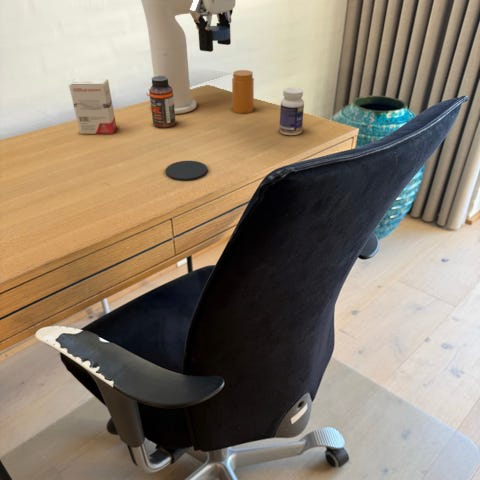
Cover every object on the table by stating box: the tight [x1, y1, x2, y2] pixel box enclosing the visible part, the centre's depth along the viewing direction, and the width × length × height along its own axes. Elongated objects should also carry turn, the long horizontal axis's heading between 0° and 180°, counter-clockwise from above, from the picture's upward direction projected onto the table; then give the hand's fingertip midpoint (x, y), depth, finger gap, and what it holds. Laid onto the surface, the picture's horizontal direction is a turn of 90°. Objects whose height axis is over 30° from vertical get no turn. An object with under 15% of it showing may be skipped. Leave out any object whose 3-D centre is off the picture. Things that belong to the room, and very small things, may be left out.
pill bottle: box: [279, 87, 305, 136], centre depth 117 cm, size 6×6×10 cm
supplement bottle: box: [148, 76, 176, 129], centre depth 121 cm, size 6×6×11 cm
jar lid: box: [210, 25, 231, 42], centre depth 102 cm, size 6×6×2 cm
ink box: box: [68, 78, 117, 135], centre depth 118 cm, size 8×5×12 cm, turn 89°
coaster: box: [165, 160, 208, 182], centre depth 103 cm, size 9×9×1 cm
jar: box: [231, 69, 255, 114], centre depth 129 cm, size 6×6×10 cm
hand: (215, 46), depth 104 cm, fingers closed on jar lid, 6 cm apart
